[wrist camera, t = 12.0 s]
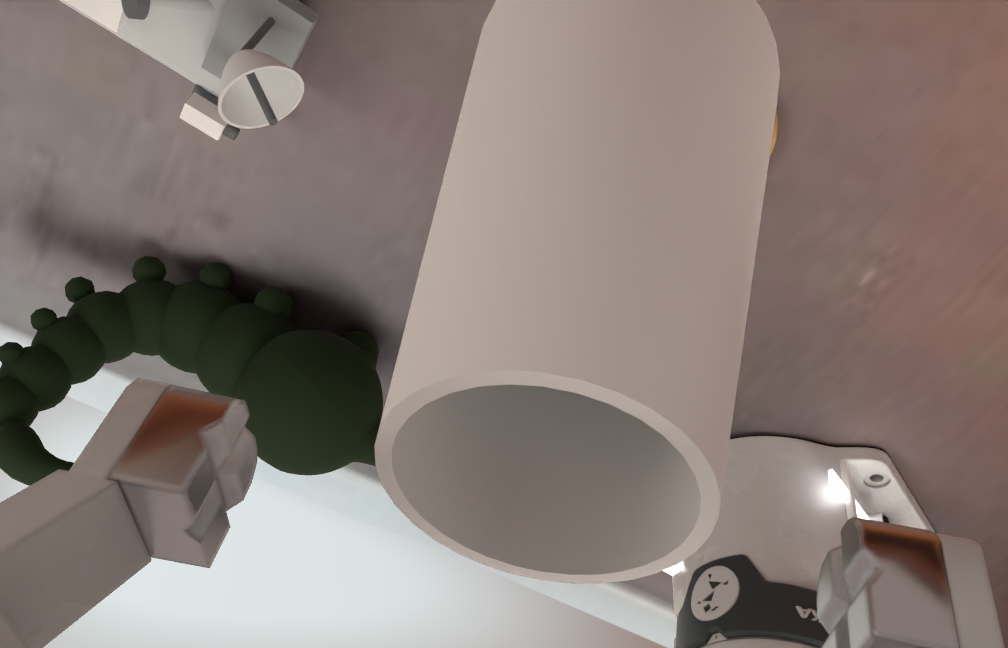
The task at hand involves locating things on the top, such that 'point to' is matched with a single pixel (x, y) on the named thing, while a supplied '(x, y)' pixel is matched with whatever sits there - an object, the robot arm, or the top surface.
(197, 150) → the top surface
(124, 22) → the toy car
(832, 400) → the top surface
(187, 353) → the toy figurine
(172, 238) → the top surface
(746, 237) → the champagne flute
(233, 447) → the robot arm
